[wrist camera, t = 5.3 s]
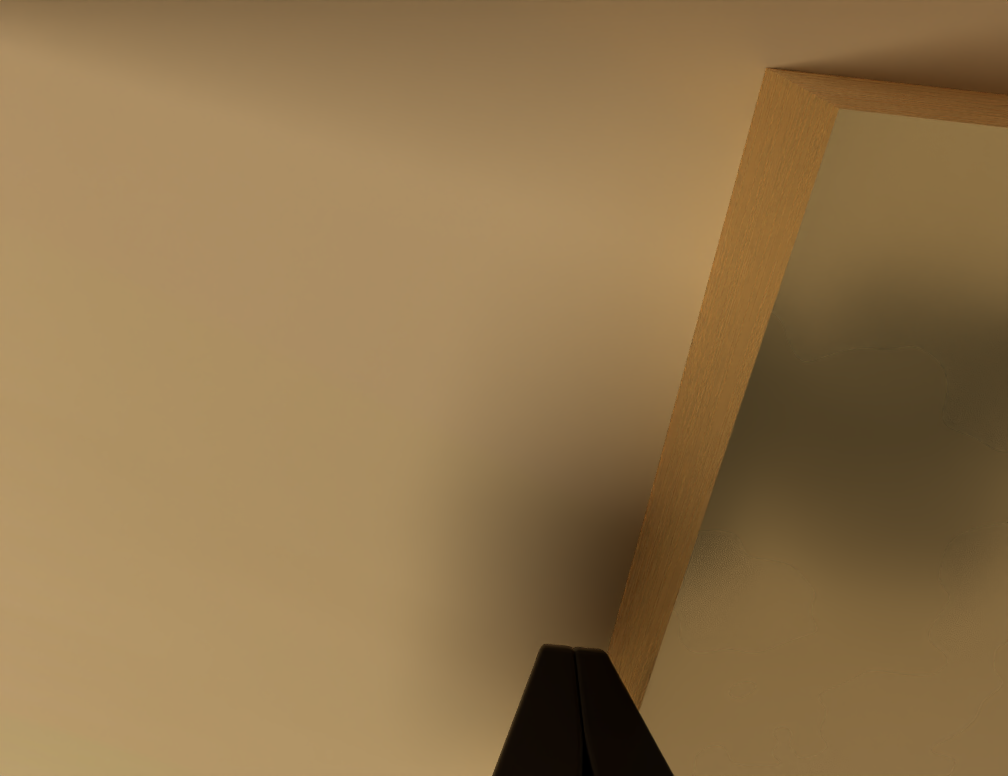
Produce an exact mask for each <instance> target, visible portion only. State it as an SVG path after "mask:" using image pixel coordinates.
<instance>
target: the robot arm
mask: <svg viewBox="0 0 1008 776" xmlns="http://www.w3.org/2000/svg"><path fill="white" fill-rule="evenodd" d="M492 776H674V774H673V773H672V771H671V769H670V767H669V765H668V764H667V762H666V760H665V758H664V756H663V754H662V753H661V751H660V749H659V747H658V745H657V744H656V742H655V740H654V738H653V736H652V734H651V733H650V731H649V729H648V727H647V725H646V724H645V722H644V720H643V718H642V716H641V714H640V713H639V711H638V709H637V707H636V705H635V704H634V702H633V700H632V698H631V696H630V694H629V693H628V691H627V689H626V687H625V685H624V684H623V682H622V680H621V678H620V676H619V674H618V673H617V671H616V669H615V667H614V665H613V664H612V662H611V660H610V658H609V656H608V655H607V654H606V652H604V651H603V650H601V649H594V648H584V647H575V648H573V649H572V648H571V647H569V646H563V645H553V644H544V645H543V646H542V647H541V648H540V650H539V653H538V655H537V658H536V661H535V663H534V666H533V669H532V671H531V674H530V677H529V679H528V682H527V685H526V687H525V690H524V693H523V695H522V698H521V701H520V703H519V706H518V709H517V711H516V714H515V717H514V719H513V722H512V724H511V727H510V730H509V732H508V735H507V738H506V740H505V743H504V746H503V748H502V751H501V754H500V756H499V759H498V762H497V764H496V767H495V770H494V772H493V775H492Z"/></svg>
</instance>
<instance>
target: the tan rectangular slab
mask: <svg viewBox="0 0 1008 776" xmlns="http://www.w3.org/2000/svg"><path fill="white" fill-rule="evenodd" d="M607 655H608V656H609V658H610V660H611V662H612V664H613V665H614V667H615V669H616V671H617V673H618V674H619V676H620V678H621V680H622V682H623V684H624V685H625V687H626V689H627V691H628V693H629V694H630V696H631V698H632V700H633V702H634V704H635V705H636V707H637V709H638V711H639V713H640V714H641V716H642V718H643V720H644V722H645V724H646V725H647V727H648V729H649V731H650V733H651V734H652V736H653V738H654V740H655V742H656V744H657V745H658V747H659V749H660V751H661V753H662V754H663V756H664V758H665V760H666V762H667V764H668V765H669V767H670V769H671V771H672V773H673V774H674V776H1008V95H1004V94H995V93H986V92H978V91H969V90H960V89H951V88H942V87H933V86H924V85H915V84H906V83H897V82H889V81H880V80H871V79H862V78H853V77H844V76H835V75H826V74H817V73H808V72H800V71H791V70H782V69H773V68H766V70H765V74H764V78H763V81H762V85H761V89H760V92H759V96H758V100H757V104H756V107H755V111H754V115H753V118H752V122H751V126H750V129H749V133H748V137H747V140H746V144H745V148H744V151H743V155H742V159H741V163H740V166H739V170H738V174H737V177H736V181H735V185H734V188H733V192H732V196H731V199H730V203H729V207H728V210H727V214H726V218H725V221H724V225H723V229H722V233H721V236H720V240H719V244H718V247H717V251H716V255H715V258H714V262H713V266H712V269H711V273H710V277H709V280H708V284H707V288H706V292H705V295H704V299H703V303H702V306H701V310H700V314H699V317H698V321H697V325H696V328H695V332H694V336H693V339H692V343H691V347H690V350H689V354H688V358H687V362H686V365H685V369H684V373H683V376H682V380H681V384H680V387H679V391H678V395H677V398H676V402H675V406H674V409H673V413H672V417H671V421H670V424H669V428H668V432H667V435H666V439H665V443H664V446H663V450H662V454H661V457H660V461H659V465H658V468H657V472H656V476H655V480H654V483H653V487H652V491H651V494H650V498H649V502H648V505H647V509H646V513H645V516H644V520H643V524H642V527H641V531H640V535H639V538H638V542H637V546H636V550H635V553H634V557H633V561H632V564H631V568H630V572H629V575H628V579H627V583H626V586H625V590H624V594H623V597H622V601H621V605H620V609H619V612H618V616H617V620H616V623H615V627H614V631H613V634H612V638H611V642H610V645H609V649H608V653H607Z"/></svg>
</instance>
